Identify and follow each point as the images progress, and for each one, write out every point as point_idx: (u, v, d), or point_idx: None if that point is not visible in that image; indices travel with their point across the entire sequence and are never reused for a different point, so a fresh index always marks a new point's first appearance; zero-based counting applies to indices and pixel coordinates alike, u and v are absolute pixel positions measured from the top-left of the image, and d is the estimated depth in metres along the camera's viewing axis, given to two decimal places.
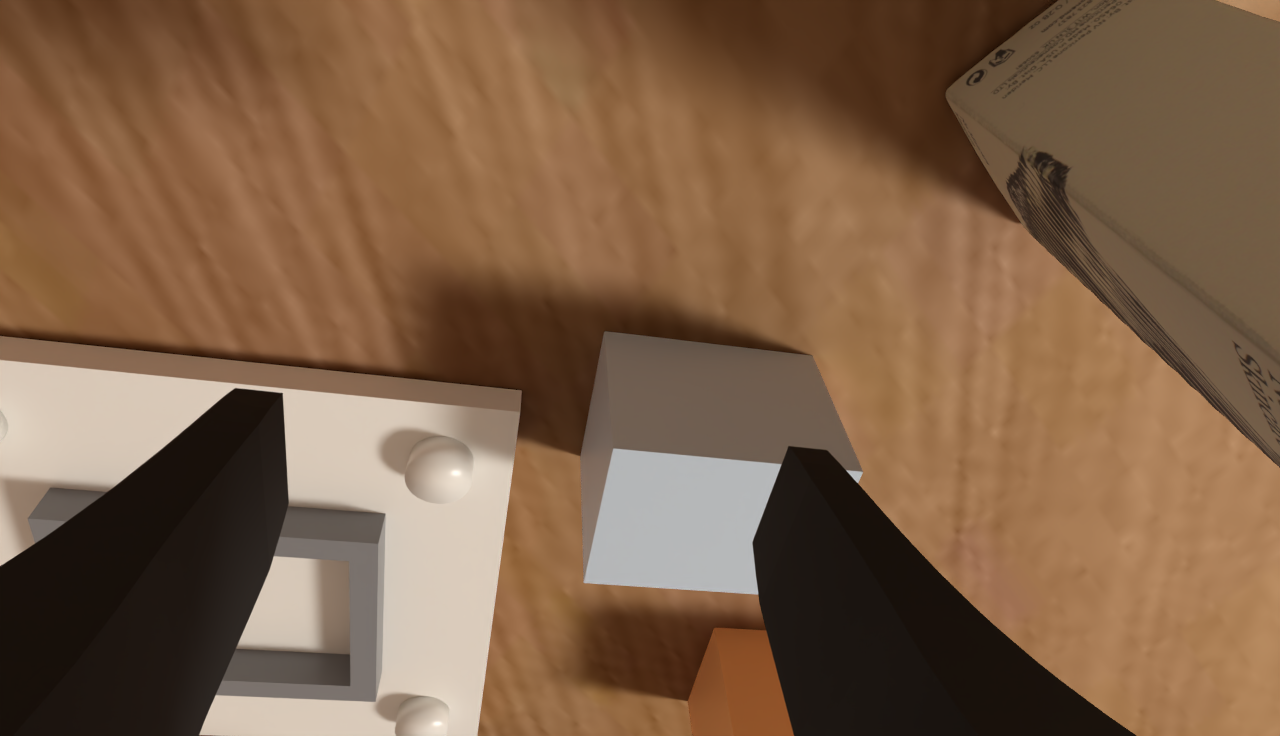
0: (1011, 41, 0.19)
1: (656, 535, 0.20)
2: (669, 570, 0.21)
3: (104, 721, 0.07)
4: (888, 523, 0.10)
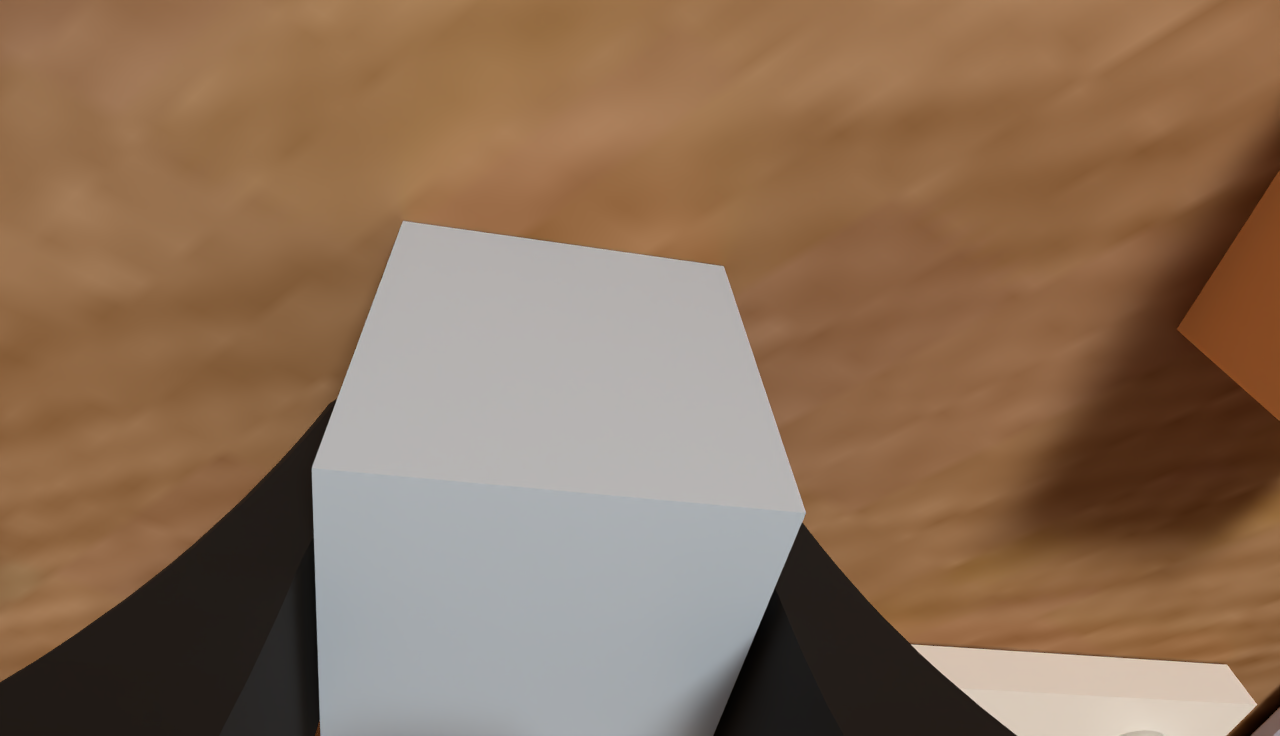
0: None
1: None
2: None
3: (263, 727, 0.07)
4: None
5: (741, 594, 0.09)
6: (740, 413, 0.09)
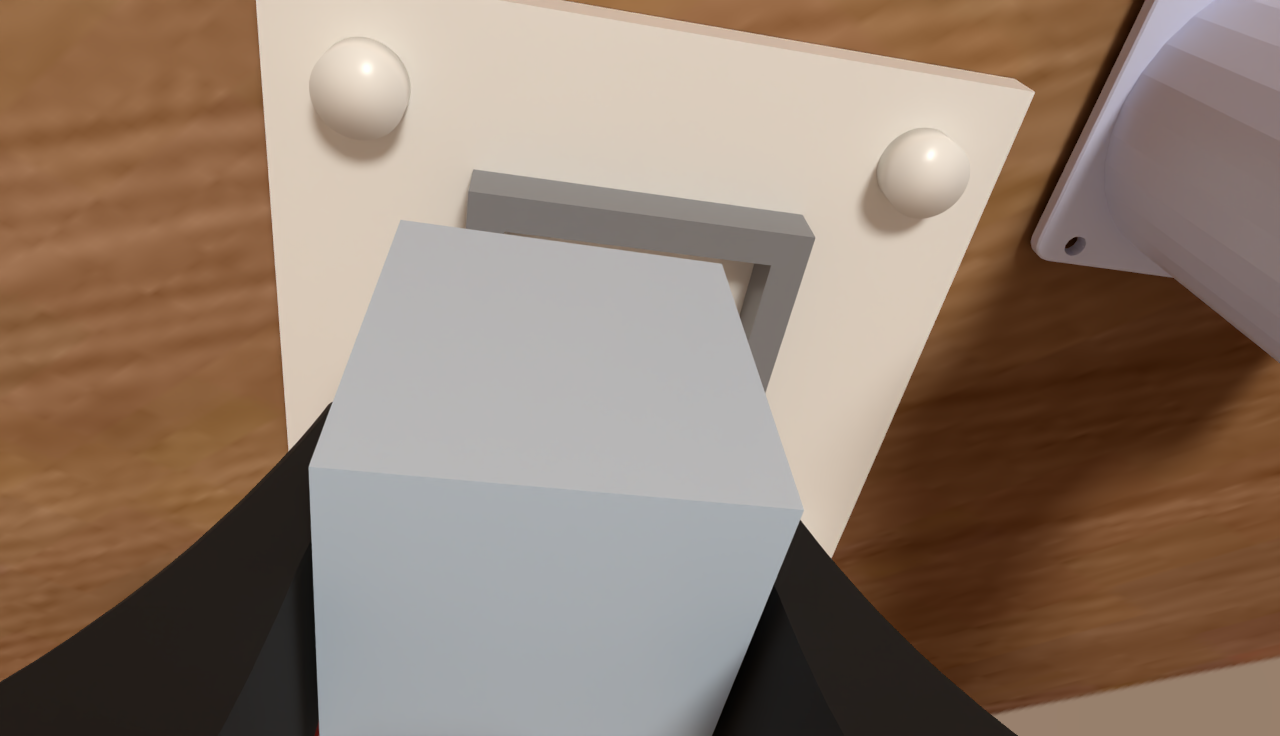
0: None
1: None
2: None
3: (263, 727, 0.07)
4: None
5: (739, 591, 0.09)
6: (738, 410, 0.09)
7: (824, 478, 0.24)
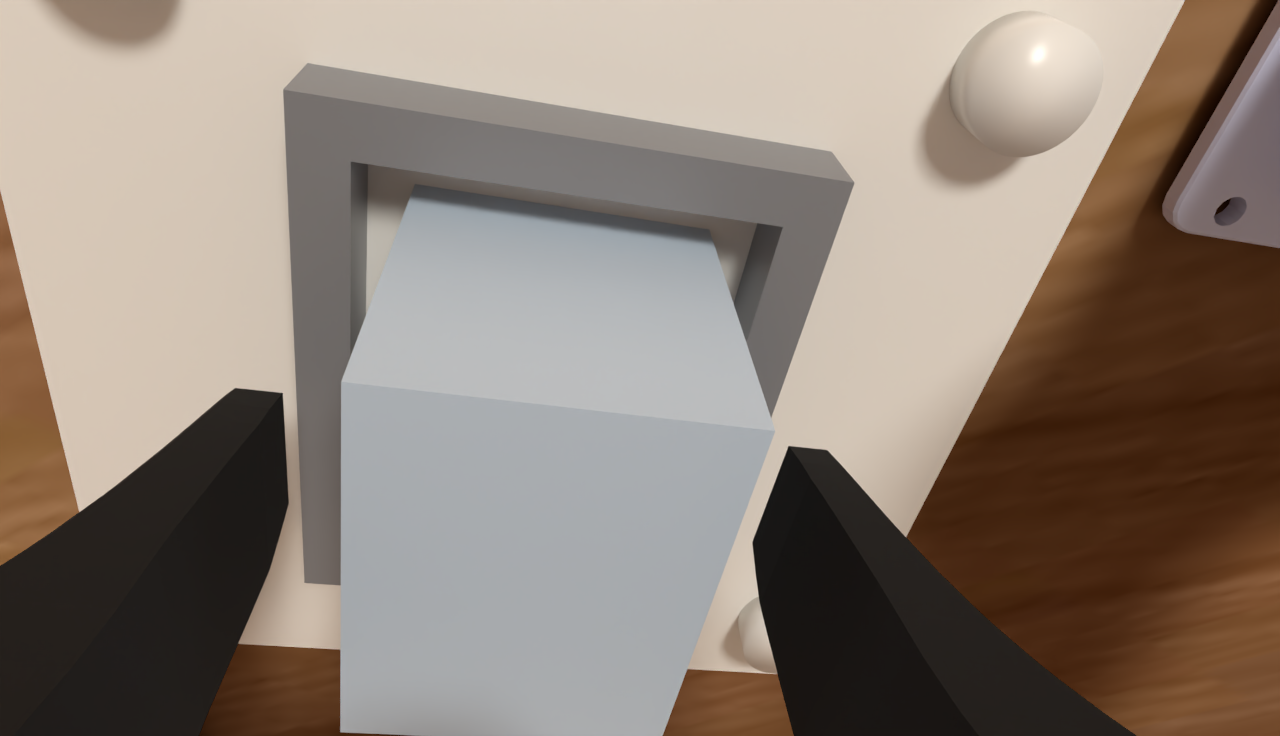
0: None
1: (545, 675, 0.11)
2: (642, 654, 0.11)
3: (104, 721, 0.07)
4: (888, 523, 0.10)
5: (719, 509, 0.10)
6: (719, 350, 0.10)
7: None
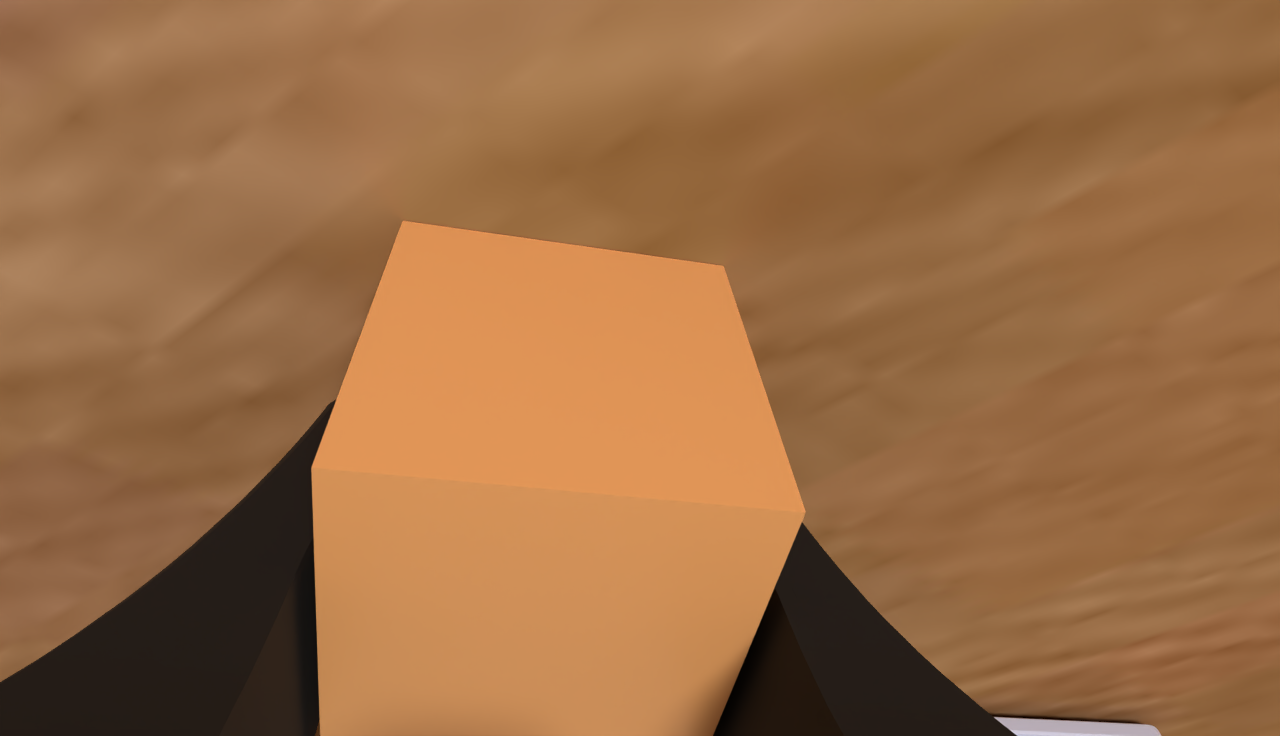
0: None
1: None
2: None
3: (263, 727, 0.07)
4: None
5: None
6: None
7: None
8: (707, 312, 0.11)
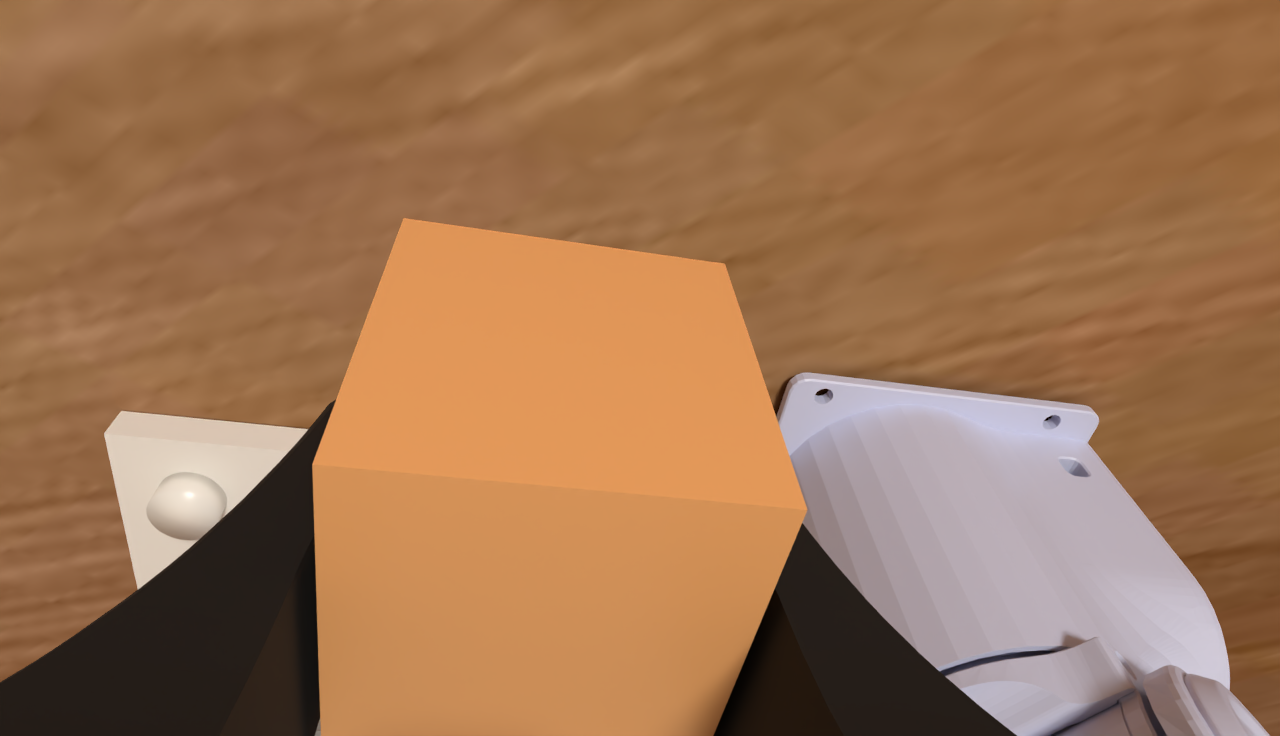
0: None
1: None
2: None
3: (263, 727, 0.07)
4: None
5: None
6: None
7: None
8: (708, 309, 0.11)
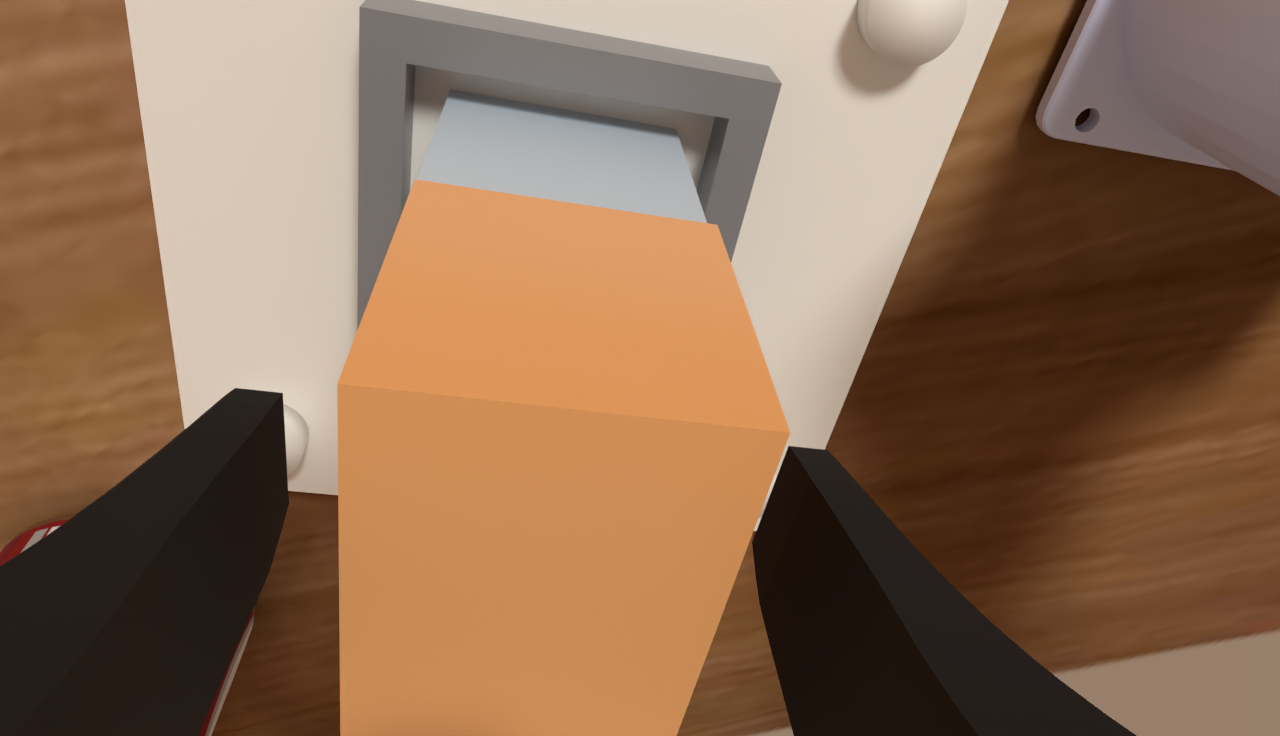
0: None
1: None
2: None
3: (104, 721, 0.07)
4: (888, 523, 0.10)
5: None
6: (677, 195, 0.14)
7: (796, 401, 0.21)
8: (701, 264, 0.12)
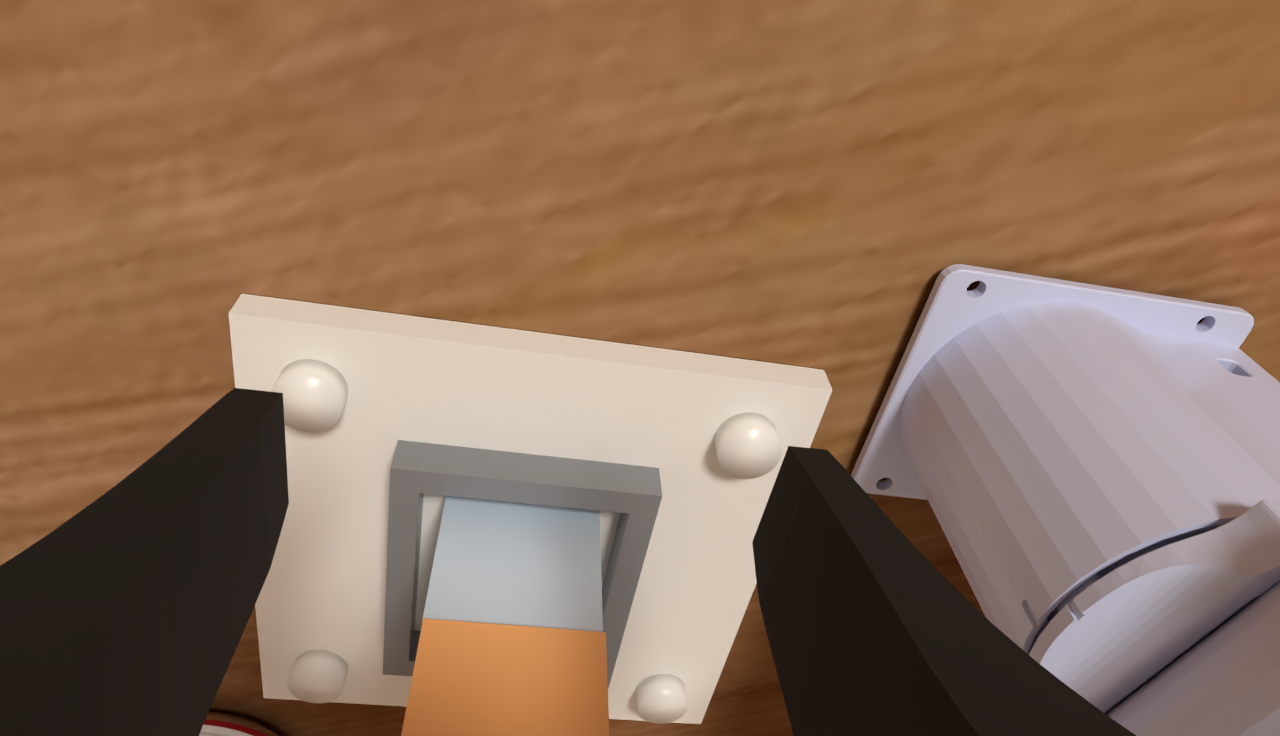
0: None
1: None
2: None
3: (104, 721, 0.07)
4: (888, 523, 0.10)
5: None
6: (587, 590, 0.22)
7: (697, 645, 0.29)
8: (588, 679, 0.20)
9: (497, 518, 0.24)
